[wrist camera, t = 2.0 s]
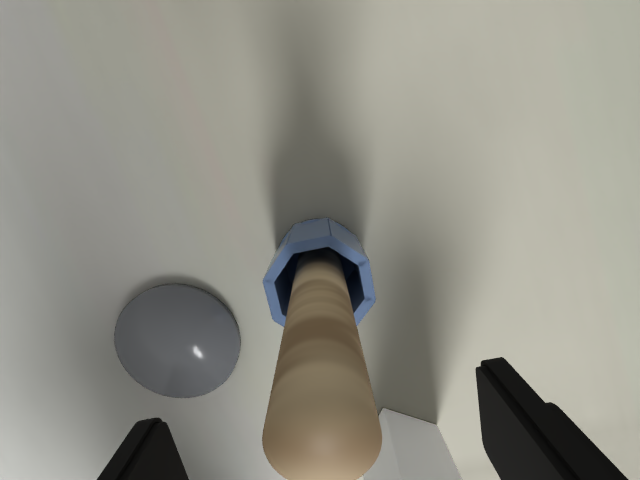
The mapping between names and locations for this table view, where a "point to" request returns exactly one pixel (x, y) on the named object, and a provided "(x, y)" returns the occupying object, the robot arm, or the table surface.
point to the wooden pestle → (321, 382)
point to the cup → (311, 238)
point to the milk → (411, 451)
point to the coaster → (177, 340)
